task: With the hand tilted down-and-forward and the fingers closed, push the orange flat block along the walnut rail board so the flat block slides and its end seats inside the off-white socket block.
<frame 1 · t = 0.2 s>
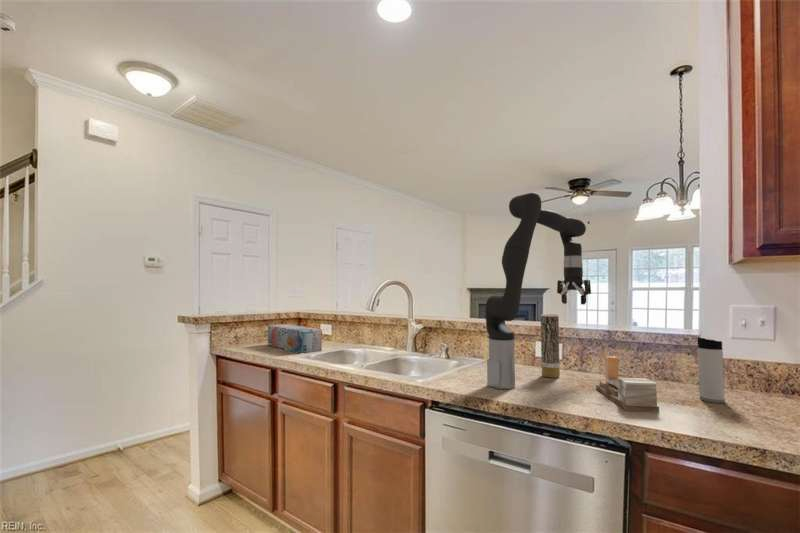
hand: (573, 304, 163), 29 cm above the worktop, tool pointing down, fingers open, 8 cm apart
rail board: (624, 399, 123), on the worktop
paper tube: (550, 376, 154), on the worktop
orange flat block: (617, 374, 127), point 7 cm above the worktop, slide at 0.0 cm
soda box: (293, 349, 223), on the worktop
travel mug: (711, 401, 121), on the worktop
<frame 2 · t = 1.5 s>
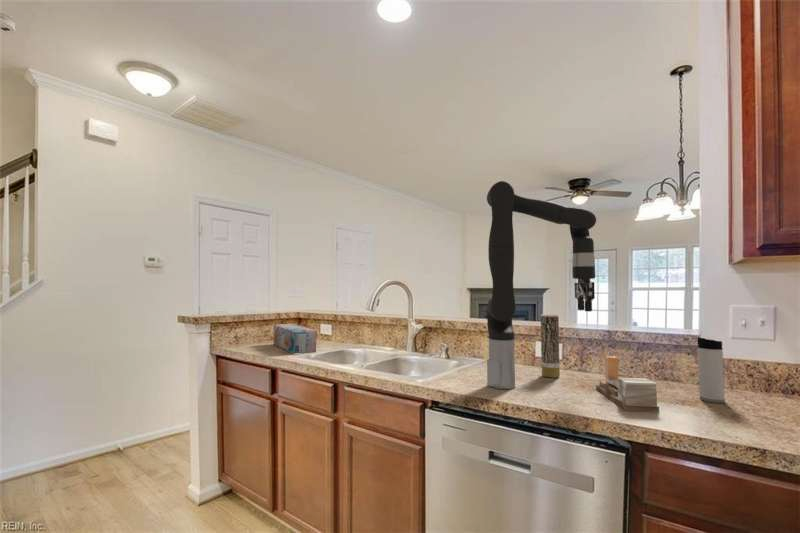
hand: (584, 310, 138), 28 cm above the worktop, tool pointing down, fingers open, 7 cm apart
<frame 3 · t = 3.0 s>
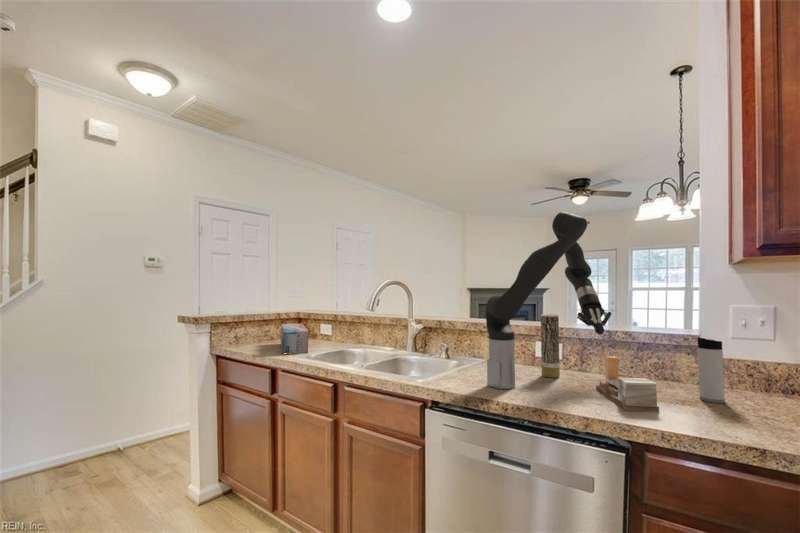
hand: (600, 333, 143), 19 cm above the worktop, tool tilted 45°, fingers closed
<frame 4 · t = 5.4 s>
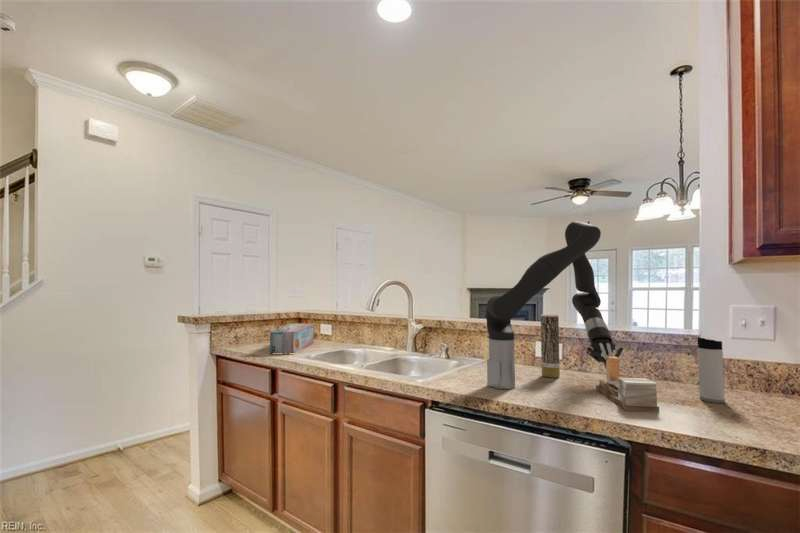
hand: (611, 371, 133), 7 cm above the worktop, tool tilted 45°, fingers closed
orange flat block: (619, 375, 126), point 7 cm above the worktop, slide at 1.0 cm, touching gripper
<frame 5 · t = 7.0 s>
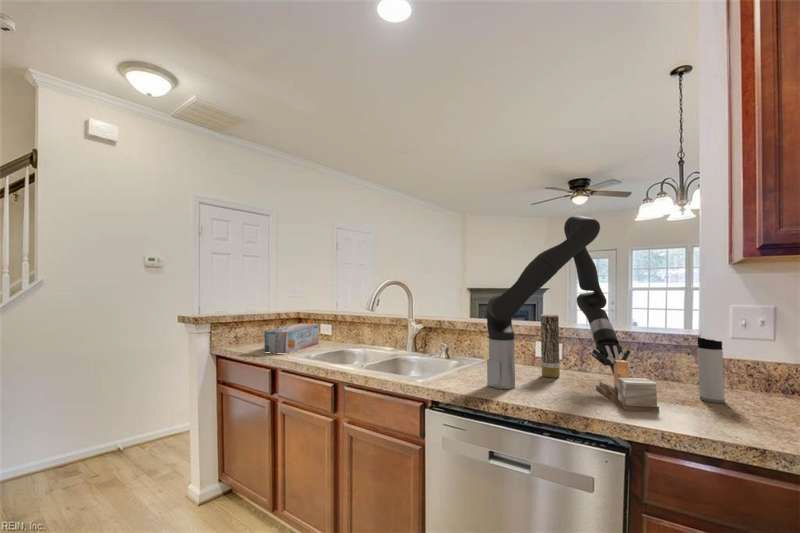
hand: (618, 375, 127), 7 cm above the worktop, tool tilted 45°, fingers closed
orange flat block: (627, 380, 120), point 7 cm above the worktop, slide at 7.4 cm, touching gripper
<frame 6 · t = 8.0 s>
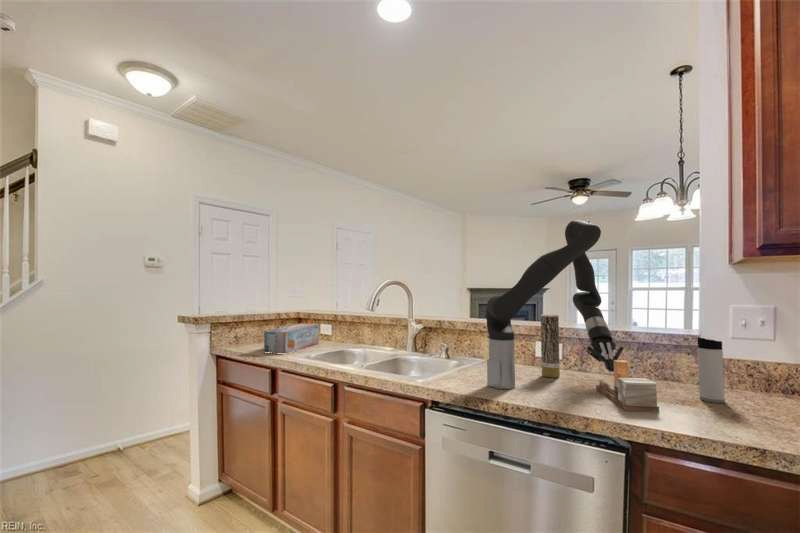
hand: (611, 370, 133), 7 cm above the worktop, tool tilted 45°, fingers closed
orange flat block: (627, 380, 120), point 7 cm above the worktop, slide at 7.4 cm
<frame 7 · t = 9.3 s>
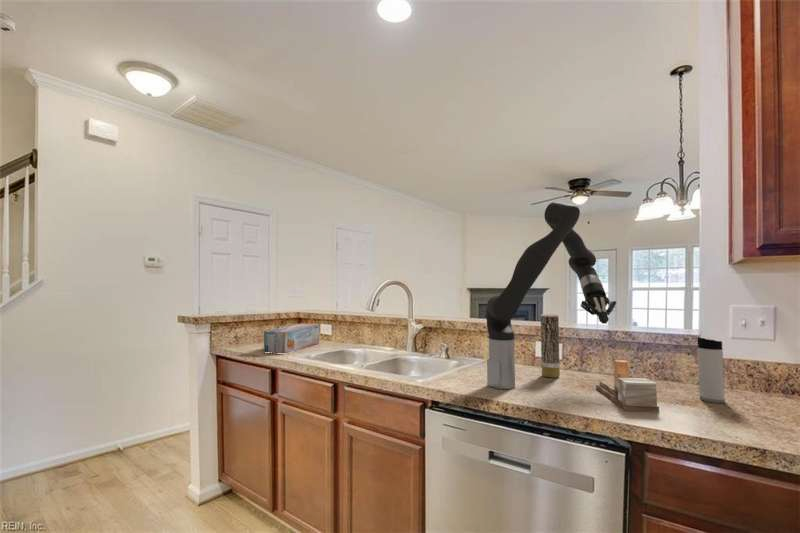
hand: (604, 322, 138), 24 cm above the worktop, tool tilted 45°, fingers closed
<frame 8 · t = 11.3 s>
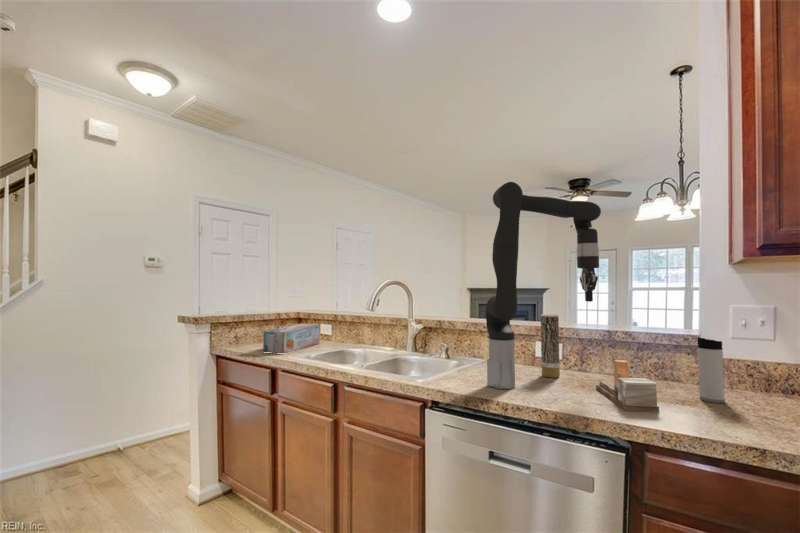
hand: (588, 301, 143), 31 cm above the worktop, tool pointing down, fingers closed
at the end: orange flat block slide at 7.4 cm; orange flat block touching nothing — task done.
